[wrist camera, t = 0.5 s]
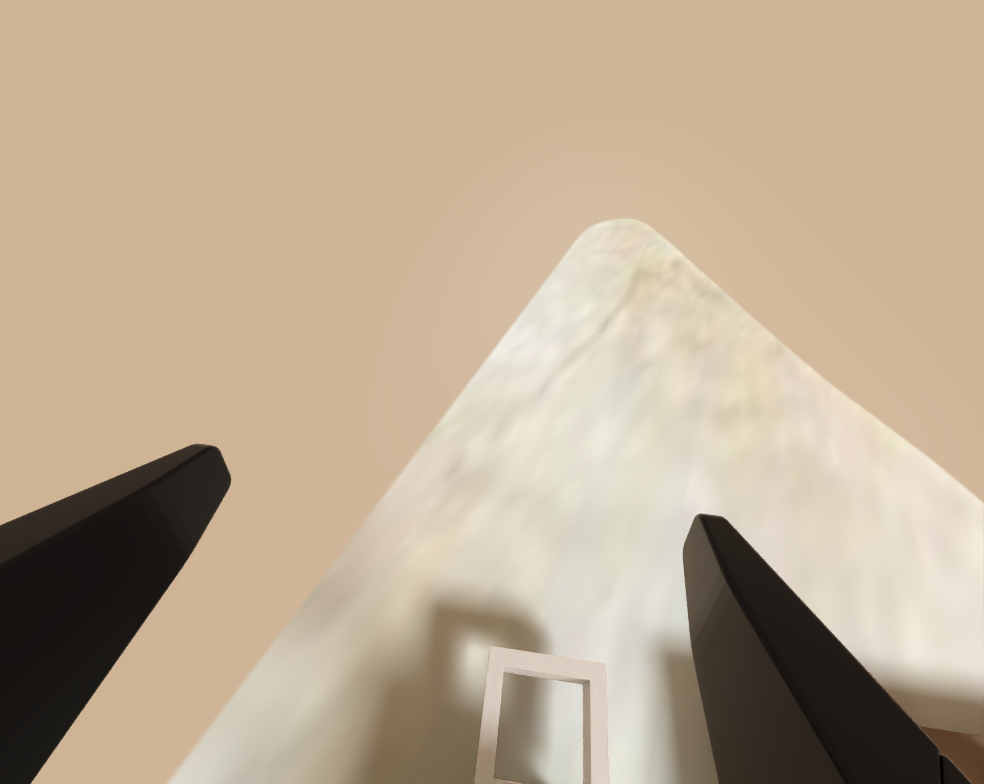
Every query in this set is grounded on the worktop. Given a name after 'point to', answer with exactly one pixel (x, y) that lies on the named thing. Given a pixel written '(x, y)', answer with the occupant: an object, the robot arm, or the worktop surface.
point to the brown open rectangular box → (961, 751)
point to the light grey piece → (555, 669)
